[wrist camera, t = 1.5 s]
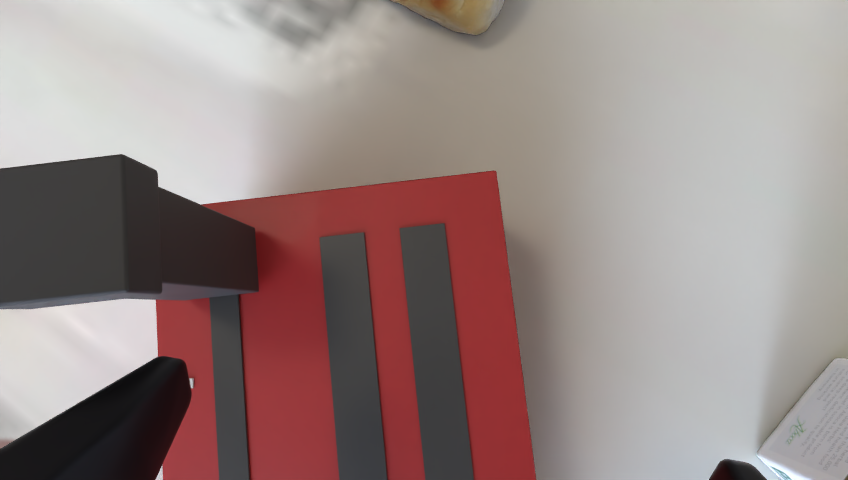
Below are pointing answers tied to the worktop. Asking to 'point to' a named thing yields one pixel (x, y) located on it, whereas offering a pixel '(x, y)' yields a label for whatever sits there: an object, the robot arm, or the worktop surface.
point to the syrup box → (813, 431)
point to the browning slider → (113, 238)
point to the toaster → (358, 342)
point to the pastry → (457, 13)
